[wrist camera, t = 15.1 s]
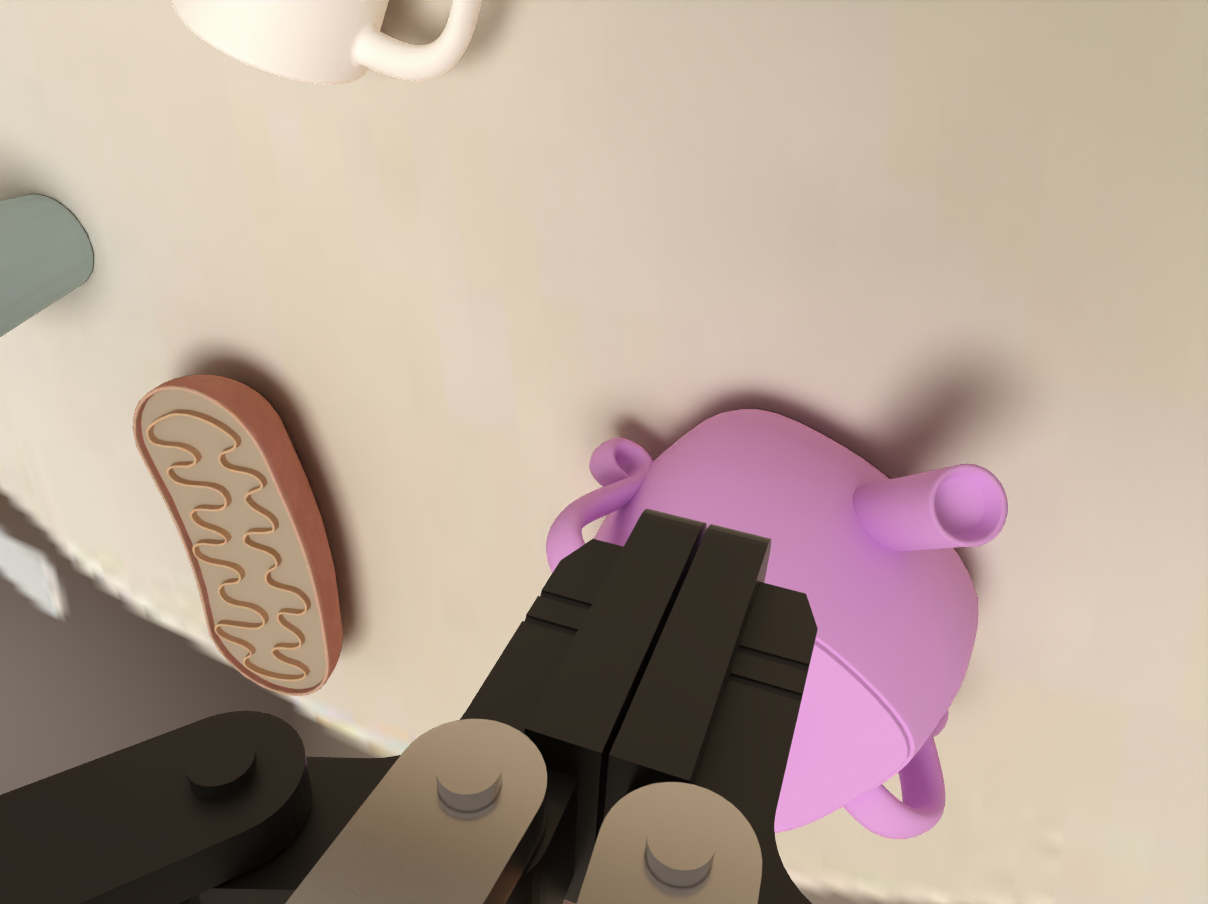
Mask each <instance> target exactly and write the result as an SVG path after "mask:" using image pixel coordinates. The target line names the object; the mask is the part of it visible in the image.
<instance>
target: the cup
mask: <svg viewBox="0 0 1208 904" xmlns="http://www.w3.org/2000/svg"><path fill="white" fill-rule="evenodd" d="M92 269H93V251H92V247H91V244H90V241H89V239H88V237H87V234H86V233H85V231H84V229H83V227H82V226H81V224H80V223H79V222H78V220H77V219H76V218H75V217H74V215H73V214H72V213H71V212H70V211H69V210H68V209H66V208H65V207H64V206H63V205H61V204H60V203H58V202H57V201H55V200H54V199H51V198H49V197H46V196H42V195H38V194H32V195H26V196H21V197H16V198H11V199H6V200H1V201H0V337H1V336H3V335H4V334H6V333H7V332H9V331H10V330H12V329H14V328H15V327H17V326H18V325H20V324H21V323H23V322H24V321H26V320H27V319H29V318H31V317H32V316H34V315H35V314H37V313H38V312H40V311H41V310H43V309H44V308H46V307H48V306H49V305H51V304H52V303H54V302H55V301H57V300H58V299H60V298H61V297H63V296H65V295H66V294H68V293H69V292H71V291H72V290H74V289H75V288H77V287H78V286H80V285H81V284H83V283H84V282H85V281H86V280H87V279H88V277H89V276H90V274H91V272H92Z"/></svg>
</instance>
